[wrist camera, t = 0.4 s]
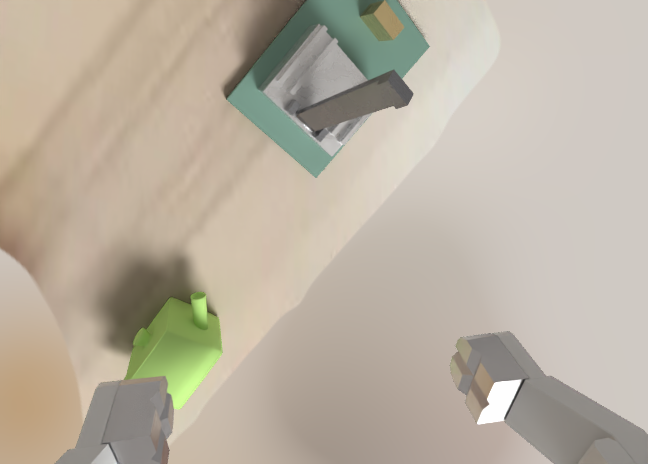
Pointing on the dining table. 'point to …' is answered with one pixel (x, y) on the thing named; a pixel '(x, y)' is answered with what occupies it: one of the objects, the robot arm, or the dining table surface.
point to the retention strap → (357, 101)
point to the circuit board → (354, 40)
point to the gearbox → (178, 347)
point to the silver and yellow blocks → (324, 75)
